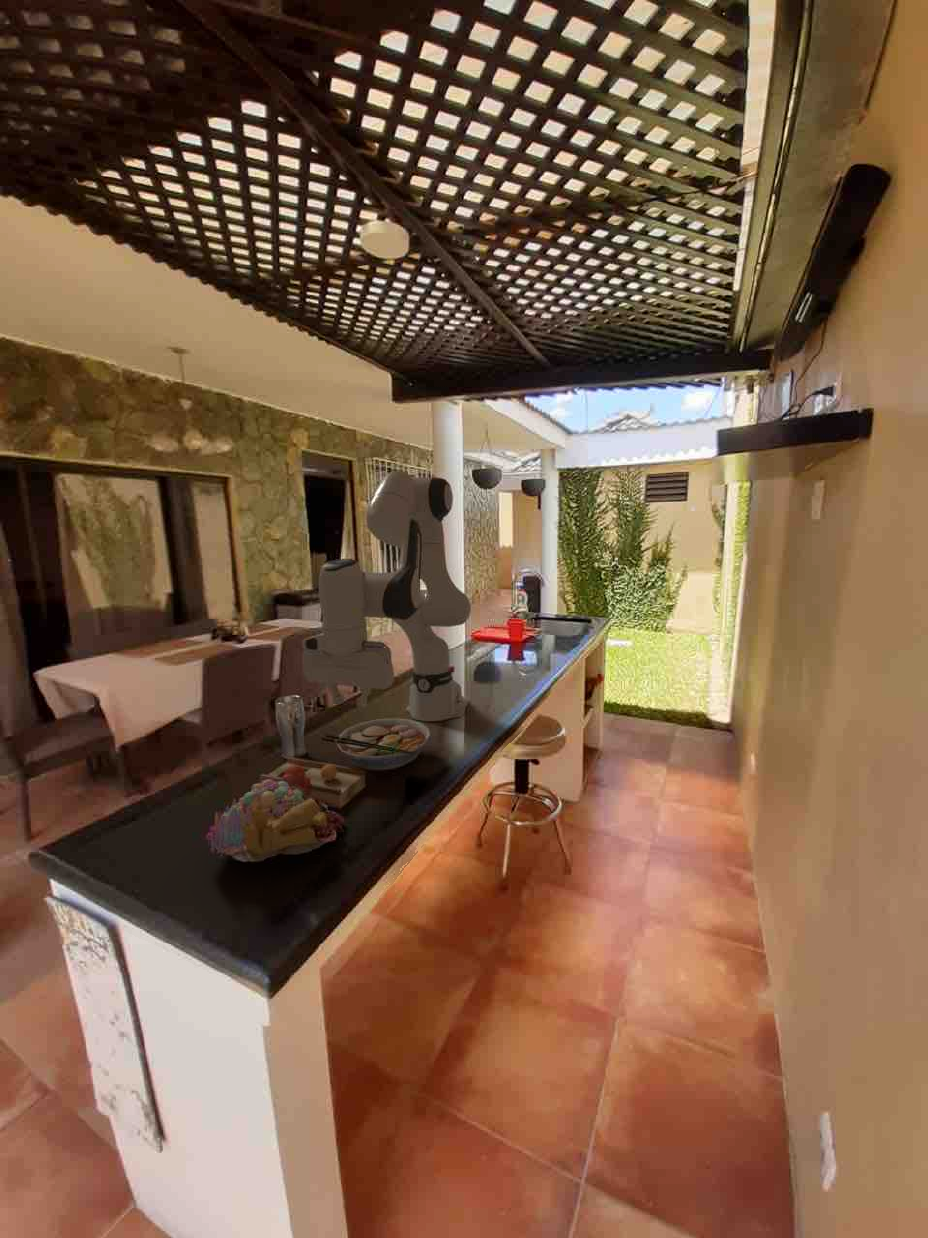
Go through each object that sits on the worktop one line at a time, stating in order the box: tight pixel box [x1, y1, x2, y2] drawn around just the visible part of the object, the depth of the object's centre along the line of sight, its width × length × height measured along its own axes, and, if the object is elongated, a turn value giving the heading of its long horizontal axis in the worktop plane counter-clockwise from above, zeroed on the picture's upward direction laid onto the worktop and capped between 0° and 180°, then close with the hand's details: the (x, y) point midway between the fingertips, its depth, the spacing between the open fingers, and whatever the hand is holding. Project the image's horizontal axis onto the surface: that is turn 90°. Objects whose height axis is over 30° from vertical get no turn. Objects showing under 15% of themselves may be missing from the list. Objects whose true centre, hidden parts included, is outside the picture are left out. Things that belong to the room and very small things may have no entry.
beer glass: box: [274, 694, 307, 760], centre depth 126 cm, size 7×7×15 cm
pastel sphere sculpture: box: [205, 764, 346, 863], centre depth 91 cm, size 25×24×9 cm
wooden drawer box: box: [259, 757, 366, 810], centre depth 109 cm, size 10×21×4 cm, turn 69°
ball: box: [320, 763, 337, 781], centre depth 107 cm, size 4×4×4 cm
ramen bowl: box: [320, 717, 431, 771], centre depth 120 cm, size 25×23×8 cm
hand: (350, 704), depth 102 cm, fingers open, 4 cm apart
